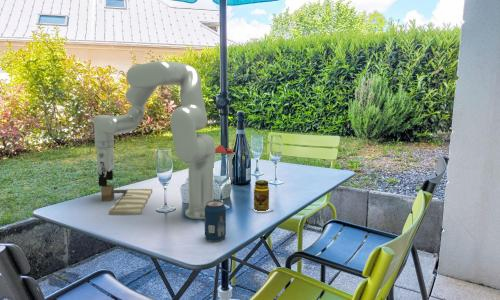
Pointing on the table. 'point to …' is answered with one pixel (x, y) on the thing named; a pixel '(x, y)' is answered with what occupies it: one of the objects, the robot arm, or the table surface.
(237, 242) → the table surface
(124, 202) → the wooden slatted rack
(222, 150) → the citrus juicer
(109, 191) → the marking gauge
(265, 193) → the condiment
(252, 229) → the table surface
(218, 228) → the soda can
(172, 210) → the table surface
